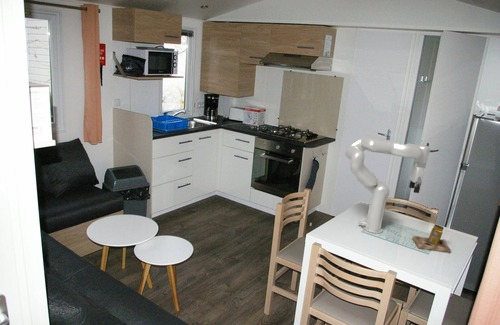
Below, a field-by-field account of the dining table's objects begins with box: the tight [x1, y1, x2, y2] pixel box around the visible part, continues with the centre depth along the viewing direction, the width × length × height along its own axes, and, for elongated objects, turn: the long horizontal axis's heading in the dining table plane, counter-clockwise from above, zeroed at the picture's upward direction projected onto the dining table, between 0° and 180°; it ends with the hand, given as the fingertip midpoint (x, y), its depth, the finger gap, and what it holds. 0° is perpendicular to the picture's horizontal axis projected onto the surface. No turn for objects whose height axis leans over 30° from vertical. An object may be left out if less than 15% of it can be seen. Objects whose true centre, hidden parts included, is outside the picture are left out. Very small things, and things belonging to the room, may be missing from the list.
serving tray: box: [411, 235, 451, 254], centre depth 238 cm, size 18×13×2 cm
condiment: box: [423, 223, 445, 247], centre depth 237 cm, size 7×8×12 cm
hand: (413, 190), depth 250 cm, fingers open, 9 cm apart
